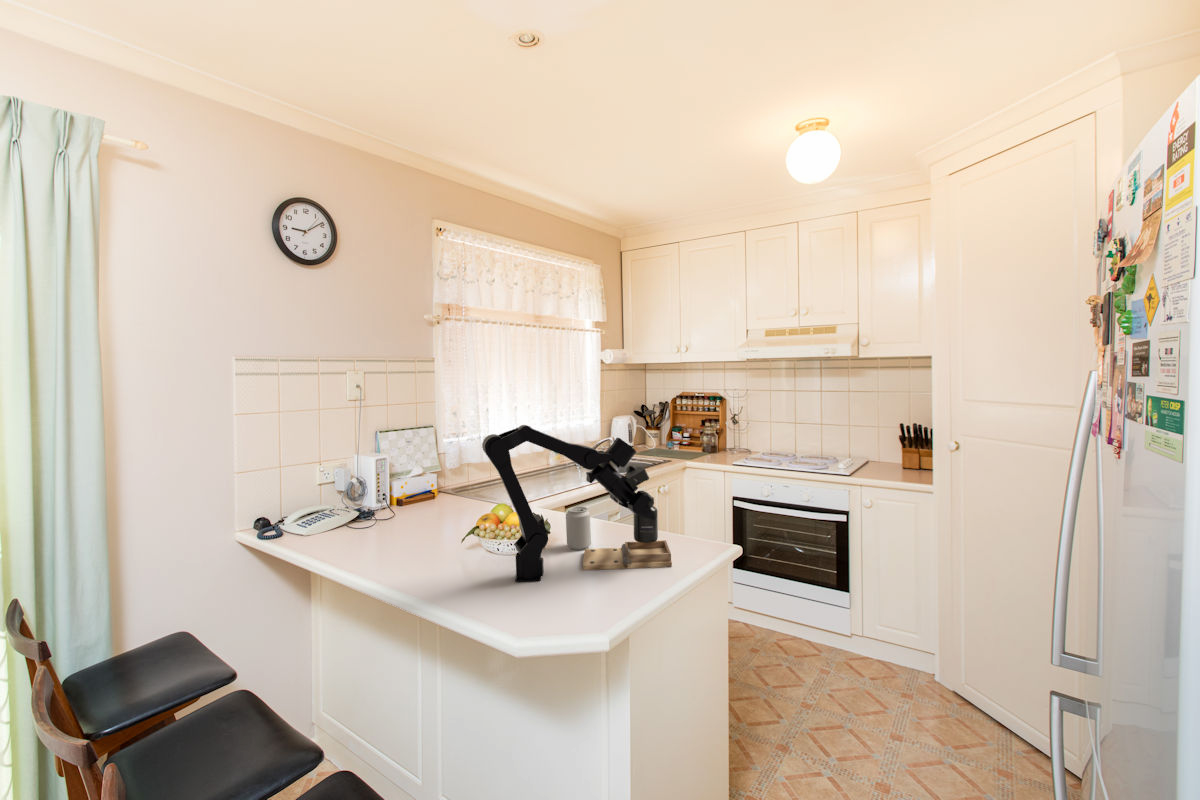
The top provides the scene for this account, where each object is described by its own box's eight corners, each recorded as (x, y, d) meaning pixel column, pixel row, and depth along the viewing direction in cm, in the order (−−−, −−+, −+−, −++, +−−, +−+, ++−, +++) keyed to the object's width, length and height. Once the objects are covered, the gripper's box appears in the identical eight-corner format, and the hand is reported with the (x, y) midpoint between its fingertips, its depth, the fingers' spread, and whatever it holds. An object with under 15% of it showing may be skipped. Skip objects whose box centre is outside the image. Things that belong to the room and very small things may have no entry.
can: (590, 550, 159) (589, 511, 159) (566, 551, 159) (564, 511, 159) (591, 542, 167) (590, 505, 166) (568, 543, 167) (566, 506, 166)
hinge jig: (583, 570, 143) (582, 558, 143) (585, 553, 157) (584, 542, 157) (671, 566, 143) (671, 554, 143) (665, 550, 157) (665, 539, 157)
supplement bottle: (645, 545, 145) (644, 501, 144) (628, 539, 150) (627, 497, 150) (663, 539, 149) (662, 497, 149) (646, 534, 154) (645, 493, 154)
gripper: (644, 463, 139) (682, 500, 143) (618, 454, 156) (654, 488, 160) (616, 495, 136) (656, 533, 140) (594, 483, 154) (630, 516, 158)
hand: (649, 515), depth 150 cm, fingers closed on supplement bottle, 7 cm apart
